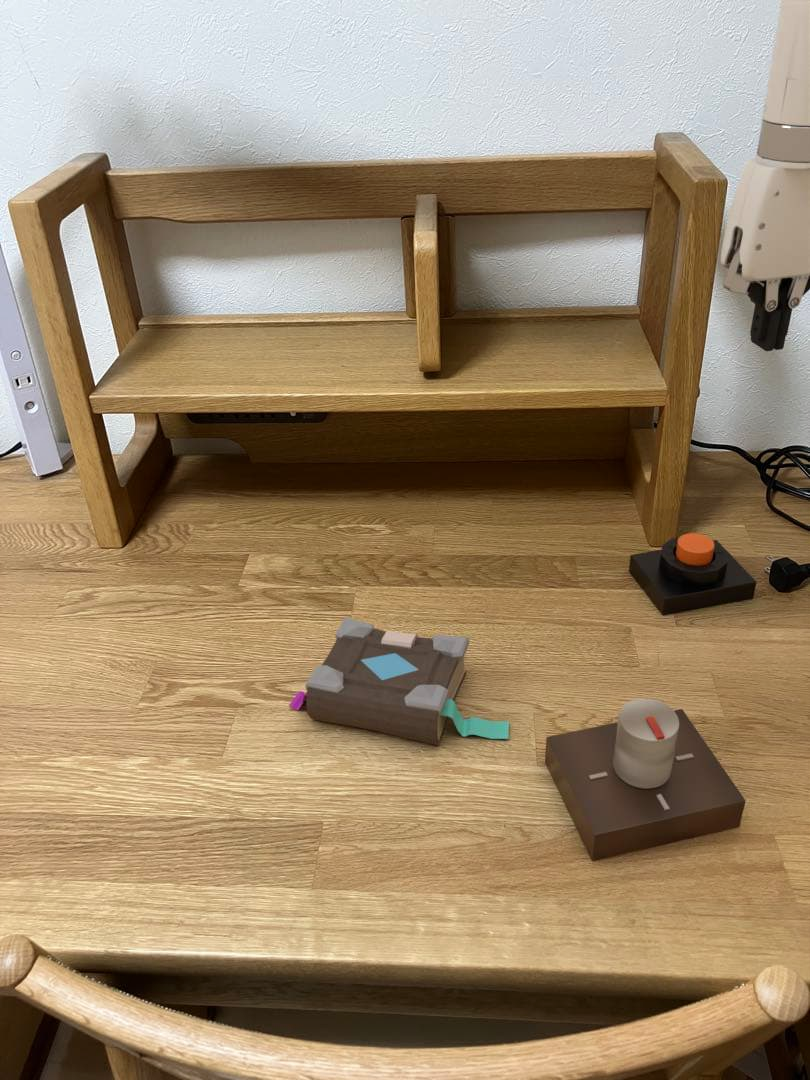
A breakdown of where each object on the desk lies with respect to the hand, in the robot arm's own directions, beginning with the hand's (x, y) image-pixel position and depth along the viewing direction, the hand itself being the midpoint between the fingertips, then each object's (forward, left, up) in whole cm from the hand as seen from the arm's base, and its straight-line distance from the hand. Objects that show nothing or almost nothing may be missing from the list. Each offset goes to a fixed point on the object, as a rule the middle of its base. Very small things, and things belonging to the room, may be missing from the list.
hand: (766, 345), depth 87 cm
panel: (+25, +30, -23) cm, 45 cm away
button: (+8, +6, -19) cm, 22 cm away
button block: (+8, +6, -23) cm, 25 cm away
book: (+40, +14, -23) cm, 48 cm away
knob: (+25, +30, -20) cm, 44 cm away
